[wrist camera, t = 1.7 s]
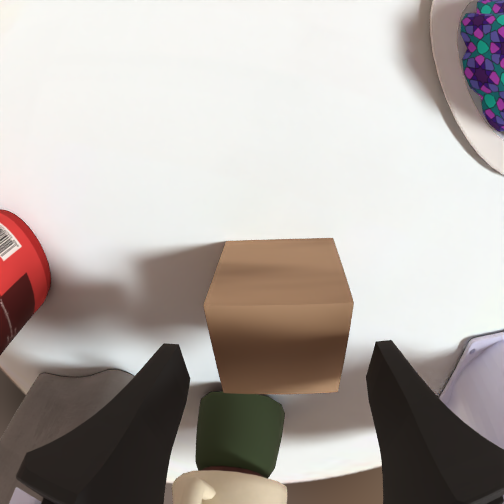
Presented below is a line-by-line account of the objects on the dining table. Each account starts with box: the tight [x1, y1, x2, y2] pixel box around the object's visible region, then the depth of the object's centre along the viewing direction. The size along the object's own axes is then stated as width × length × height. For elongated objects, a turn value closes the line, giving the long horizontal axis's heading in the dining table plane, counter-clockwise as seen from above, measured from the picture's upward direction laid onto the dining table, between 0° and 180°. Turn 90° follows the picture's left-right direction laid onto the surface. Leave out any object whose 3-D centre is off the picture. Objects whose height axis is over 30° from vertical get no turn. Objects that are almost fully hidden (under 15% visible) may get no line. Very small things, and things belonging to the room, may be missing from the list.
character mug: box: [172, 391, 287, 504], centre depth 15 cm, size 11×7×13 cm, turn 15°
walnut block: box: [203, 238, 354, 394], centre depth 13 cm, size 5×5×5 cm
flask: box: [0, 370, 134, 504], centre depth 14 cm, size 15×6×20 cm, turn 111°
